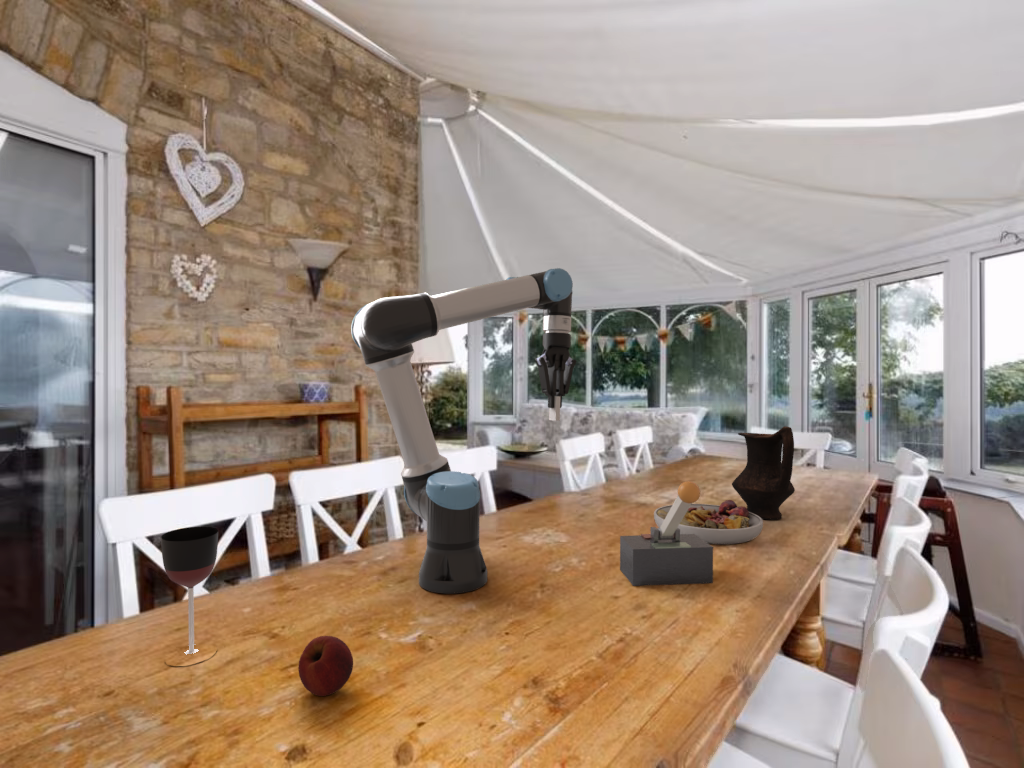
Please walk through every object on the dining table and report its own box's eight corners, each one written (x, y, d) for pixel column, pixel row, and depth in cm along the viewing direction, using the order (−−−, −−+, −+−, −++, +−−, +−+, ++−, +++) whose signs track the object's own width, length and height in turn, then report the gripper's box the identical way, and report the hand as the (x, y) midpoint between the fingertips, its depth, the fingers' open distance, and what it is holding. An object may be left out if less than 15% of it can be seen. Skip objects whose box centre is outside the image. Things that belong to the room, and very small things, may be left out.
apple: (286, 695, 80) (286, 640, 80) (331, 671, 86) (331, 620, 86) (319, 713, 76) (319, 654, 75) (364, 686, 82) (363, 632, 82)
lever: (652, 527, 129) (678, 477, 113) (670, 527, 129) (699, 476, 113) (656, 545, 126) (684, 496, 110) (675, 544, 126) (705, 495, 110)
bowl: (728, 555, 142) (728, 525, 142) (633, 530, 165) (633, 504, 165) (781, 534, 161) (782, 507, 161) (690, 514, 184) (690, 490, 184)
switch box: (620, 569, 131) (620, 523, 131) (694, 567, 132) (694, 521, 132) (632, 585, 121) (633, 535, 121) (712, 583, 123) (713, 533, 122)
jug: (719, 511, 186) (719, 422, 186) (764, 507, 192) (765, 420, 191) (765, 528, 166) (766, 428, 165) (814, 523, 171) (815, 426, 171)
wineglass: (206, 637, 97) (204, 524, 97) (228, 653, 91) (227, 533, 91) (154, 655, 91) (152, 534, 90) (175, 674, 85) (173, 544, 85)
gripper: (547, 330, 143) (544, 421, 143) (584, 334, 151) (581, 421, 151) (529, 331, 149) (526, 419, 149) (565, 335, 157) (563, 419, 157)
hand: (554, 420), depth 150 cm, fingers closed
